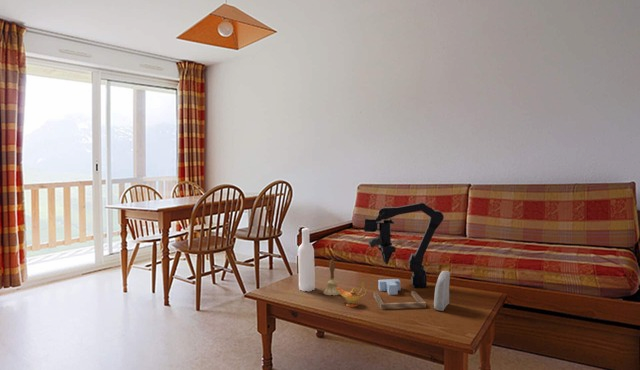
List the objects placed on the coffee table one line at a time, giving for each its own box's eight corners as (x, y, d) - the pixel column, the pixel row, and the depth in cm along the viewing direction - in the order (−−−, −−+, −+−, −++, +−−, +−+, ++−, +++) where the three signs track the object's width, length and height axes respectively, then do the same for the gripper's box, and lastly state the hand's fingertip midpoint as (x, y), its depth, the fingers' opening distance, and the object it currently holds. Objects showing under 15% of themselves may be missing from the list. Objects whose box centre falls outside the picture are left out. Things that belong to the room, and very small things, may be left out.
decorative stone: (446, 312, 154) (445, 275, 153) (431, 310, 157) (430, 274, 156) (451, 304, 163) (450, 269, 163) (436, 302, 166) (436, 268, 166)
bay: (414, 294, 176) (414, 290, 176) (426, 307, 160) (426, 302, 160) (373, 296, 175) (373, 292, 175) (381, 309, 159) (381, 304, 159)
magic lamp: (337, 297, 175) (336, 273, 174) (370, 305, 163) (370, 280, 163) (327, 301, 169) (327, 277, 169) (361, 310, 158) (361, 284, 158)
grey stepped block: (398, 287, 187) (398, 279, 187) (404, 294, 177) (403, 284, 177) (378, 288, 187) (378, 279, 187) (382, 295, 177) (382, 285, 177)
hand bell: (343, 291, 184) (342, 258, 183) (337, 296, 176) (336, 262, 176) (327, 289, 187) (327, 257, 187) (320, 294, 180) (320, 260, 179)
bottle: (314, 286, 192) (313, 227, 191) (315, 291, 185) (313, 229, 184) (299, 287, 192) (297, 227, 191) (298, 291, 184) (297, 230, 183)
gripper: (366, 229, 201) (366, 259, 202) (372, 235, 183) (373, 268, 183) (387, 229, 202) (387, 258, 202) (395, 235, 183) (396, 267, 184)
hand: (385, 263), depth 193 cm, fingers open, 4 cm apart
